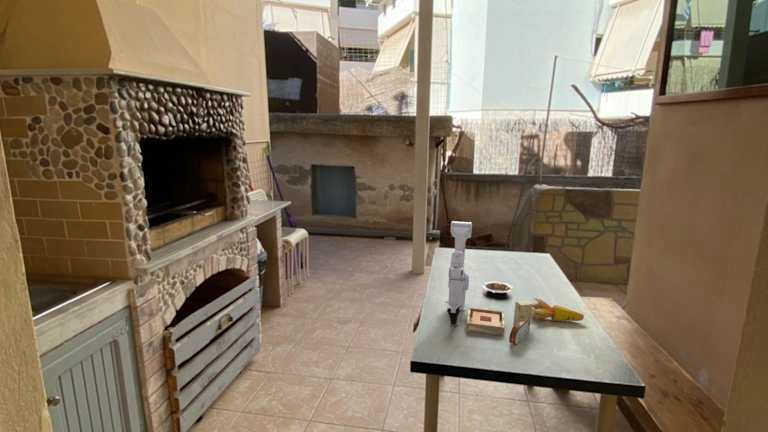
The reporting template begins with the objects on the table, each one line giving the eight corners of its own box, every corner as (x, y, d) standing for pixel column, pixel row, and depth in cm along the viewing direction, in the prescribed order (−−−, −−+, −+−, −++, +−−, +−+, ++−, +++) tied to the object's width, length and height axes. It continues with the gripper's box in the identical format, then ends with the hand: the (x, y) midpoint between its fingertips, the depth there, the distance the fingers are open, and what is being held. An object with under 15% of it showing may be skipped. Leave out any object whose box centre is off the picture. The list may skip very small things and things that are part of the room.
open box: (468, 315, 198) (469, 307, 198) (503, 319, 194) (503, 311, 194) (466, 331, 183) (466, 322, 182) (503, 336, 179) (504, 327, 179)
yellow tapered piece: (580, 331, 191) (524, 318, 196) (579, 317, 197) (525, 305, 202) (586, 321, 186) (529, 308, 190) (584, 306, 191) (529, 295, 196)
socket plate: (472, 316, 196) (473, 311, 195) (498, 319, 193) (499, 314, 192) (471, 328, 185) (471, 323, 184) (499, 331, 182) (499, 326, 181)
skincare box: (518, 330, 184) (520, 305, 181) (512, 326, 188) (514, 301, 185) (530, 328, 186) (533, 303, 183) (525, 324, 190) (527, 299, 187)
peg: (450, 322, 191) (450, 309, 189) (457, 323, 190) (458, 309, 188) (449, 326, 187) (450, 312, 186) (457, 327, 187) (457, 313, 185)
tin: (521, 332, 183) (523, 314, 181) (528, 334, 181) (530, 317, 179) (507, 346, 171) (509, 328, 169) (515, 349, 169) (516, 330, 168)
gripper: (448, 285, 193) (446, 312, 196) (444, 298, 179) (443, 326, 182) (463, 287, 191) (461, 314, 194) (460, 300, 177) (459, 328, 180)
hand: (453, 320), depth 188 cm, fingers open, 6 cm apart
